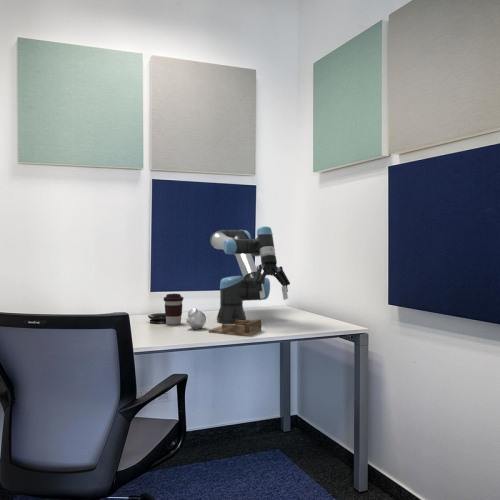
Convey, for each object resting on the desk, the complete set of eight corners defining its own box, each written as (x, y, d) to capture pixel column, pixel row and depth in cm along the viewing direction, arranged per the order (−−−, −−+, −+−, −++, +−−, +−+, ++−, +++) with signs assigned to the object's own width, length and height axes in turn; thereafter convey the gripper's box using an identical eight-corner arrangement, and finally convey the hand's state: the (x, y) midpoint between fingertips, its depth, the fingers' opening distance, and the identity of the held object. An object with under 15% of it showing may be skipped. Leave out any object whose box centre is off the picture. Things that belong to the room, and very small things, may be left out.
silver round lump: (185, 327, 228) (185, 307, 228) (204, 326, 230) (204, 306, 230) (187, 331, 219) (187, 309, 219) (207, 330, 221) (207, 308, 221)
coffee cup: (172, 321, 246) (172, 292, 245) (187, 323, 241) (187, 293, 240) (159, 324, 237) (159, 294, 237) (174, 326, 232) (174, 295, 232)
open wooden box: (208, 332, 216) (208, 321, 216) (223, 327, 228) (223, 316, 228) (247, 336, 207) (247, 324, 207) (261, 330, 219) (261, 319, 219)
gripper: (251, 251, 222) (257, 295, 215) (292, 256, 236) (299, 297, 228) (242, 257, 228) (248, 299, 220) (283, 261, 242) (290, 301, 234)
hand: (274, 298), depth 224 cm, fingers open, 13 cm apart
